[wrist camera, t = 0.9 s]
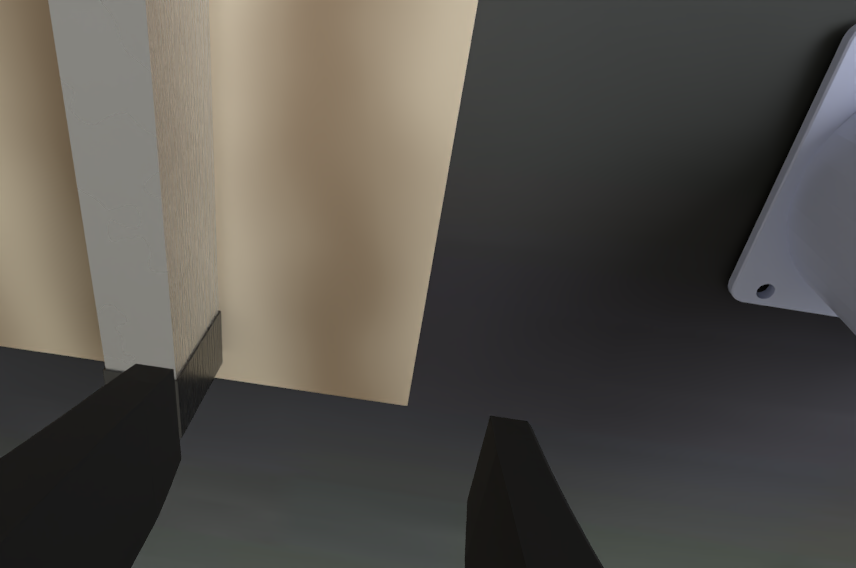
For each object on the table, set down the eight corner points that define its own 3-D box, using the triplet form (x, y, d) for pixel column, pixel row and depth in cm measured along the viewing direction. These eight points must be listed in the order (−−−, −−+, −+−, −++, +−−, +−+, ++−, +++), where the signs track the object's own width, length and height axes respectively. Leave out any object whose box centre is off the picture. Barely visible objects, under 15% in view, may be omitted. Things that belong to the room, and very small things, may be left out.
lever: (41, -643, 10) (-286, -1077, 5) (222, -607, 10) (37, -1006, 5) (148, 351, 20) (63, 469, 15) (236, 364, 20) (175, 484, 15)
